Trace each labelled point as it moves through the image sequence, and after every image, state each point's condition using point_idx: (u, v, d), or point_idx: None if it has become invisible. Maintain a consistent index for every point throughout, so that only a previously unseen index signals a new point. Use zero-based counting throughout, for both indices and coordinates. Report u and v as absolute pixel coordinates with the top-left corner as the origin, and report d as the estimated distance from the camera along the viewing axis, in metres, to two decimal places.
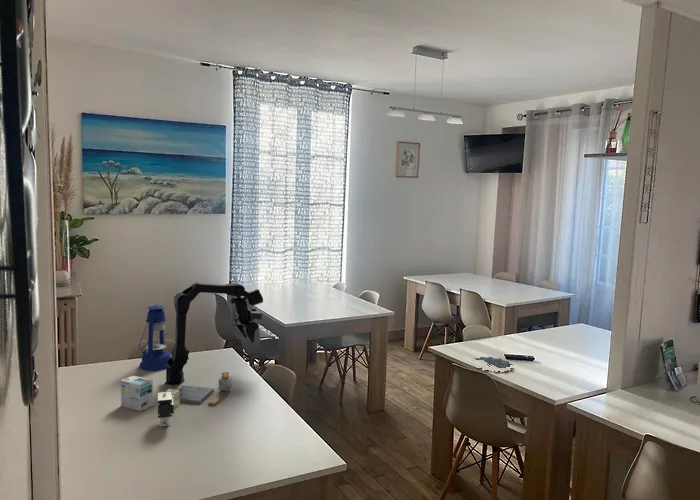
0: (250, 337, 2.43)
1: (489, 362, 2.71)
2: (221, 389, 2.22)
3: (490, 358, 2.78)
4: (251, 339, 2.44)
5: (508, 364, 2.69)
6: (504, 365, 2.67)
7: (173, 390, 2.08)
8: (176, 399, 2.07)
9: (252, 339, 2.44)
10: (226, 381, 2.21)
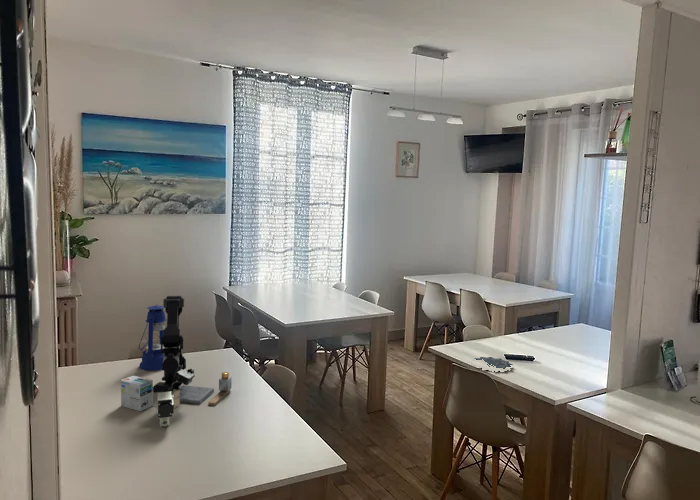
0: None
1: (489, 362, 2.71)
2: (221, 389, 2.22)
3: (490, 358, 2.78)
4: None
5: (508, 364, 2.69)
6: (504, 365, 2.67)
7: None
8: (176, 399, 2.07)
9: None
10: (226, 381, 2.21)
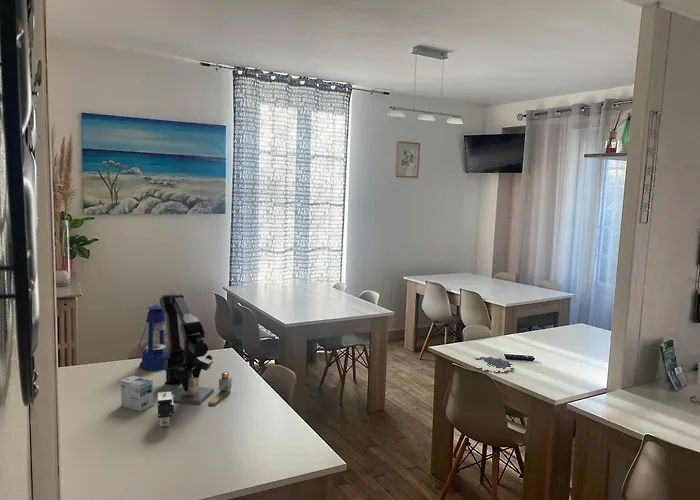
0: (182, 384, 2.12)
1: (489, 362, 2.71)
2: (221, 389, 2.22)
3: (490, 358, 2.78)
4: (184, 386, 2.13)
5: (508, 364, 2.69)
6: (504, 365, 2.67)
7: (192, 378, 2.18)
8: (196, 386, 2.17)
9: (185, 387, 2.13)
10: (226, 381, 2.21)
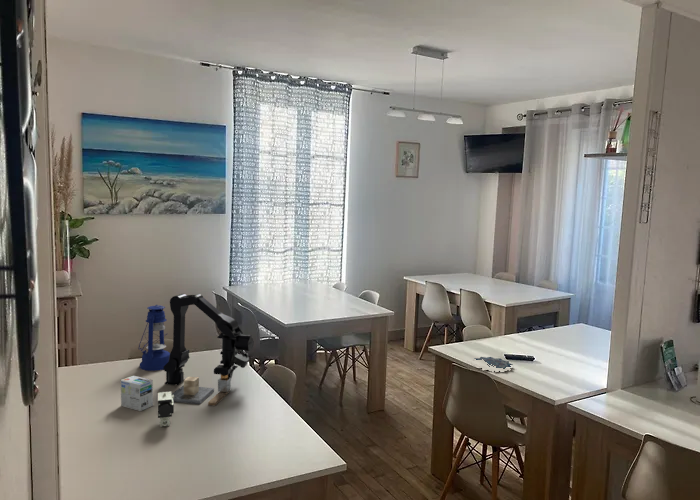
0: None
1: (489, 362, 2.71)
2: (220, 390, 2.21)
3: (490, 358, 2.78)
4: None
5: (508, 364, 2.69)
6: (504, 365, 2.67)
7: (192, 378, 2.18)
8: (196, 386, 2.17)
9: None
10: (225, 382, 2.20)
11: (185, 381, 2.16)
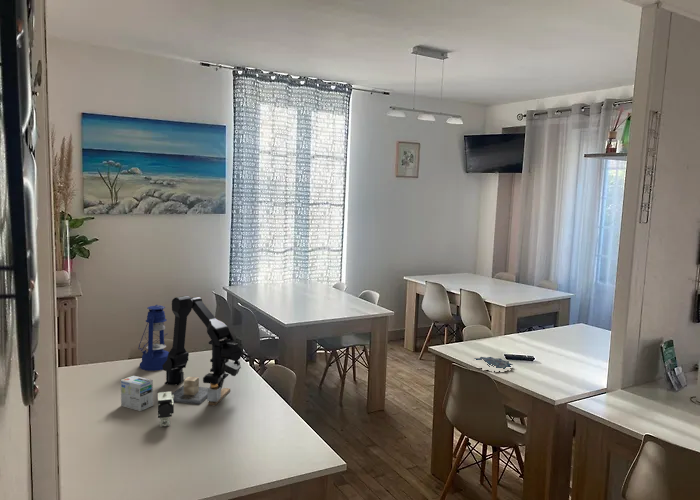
0: None
1: (489, 362, 2.71)
2: (210, 399, 2.10)
3: (490, 358, 2.78)
4: None
5: (508, 364, 2.69)
6: (504, 365, 2.67)
7: (192, 378, 2.18)
8: (196, 386, 2.17)
9: None
10: (215, 391, 2.09)
11: (185, 381, 2.16)
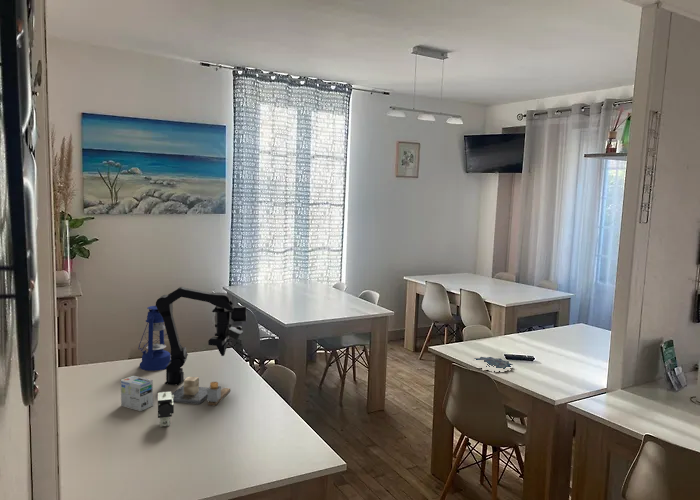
0: (219, 349, 2.34)
1: (489, 362, 2.71)
2: (210, 400, 2.10)
3: (490, 358, 2.78)
4: (220, 352, 2.34)
5: (508, 364, 2.69)
6: (504, 365, 2.67)
7: (192, 378, 2.18)
8: (196, 386, 2.17)
9: (222, 352, 2.34)
10: (215, 391, 2.09)
11: (185, 381, 2.16)
